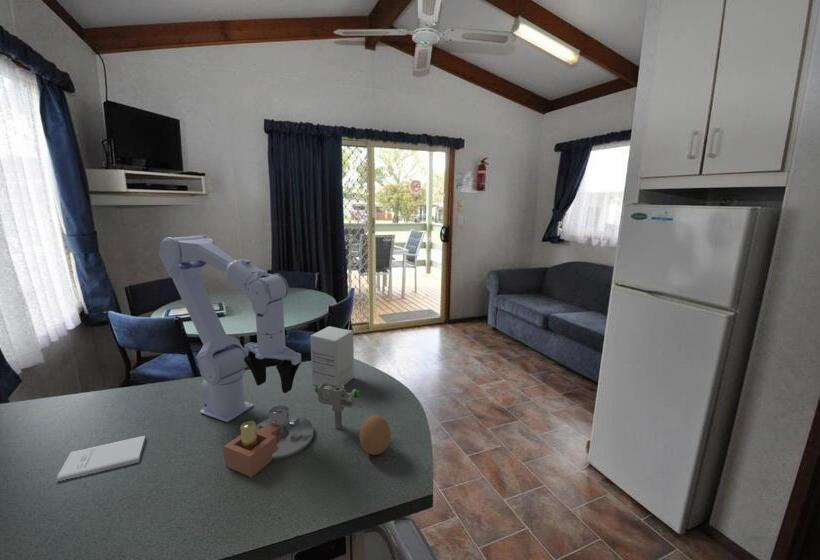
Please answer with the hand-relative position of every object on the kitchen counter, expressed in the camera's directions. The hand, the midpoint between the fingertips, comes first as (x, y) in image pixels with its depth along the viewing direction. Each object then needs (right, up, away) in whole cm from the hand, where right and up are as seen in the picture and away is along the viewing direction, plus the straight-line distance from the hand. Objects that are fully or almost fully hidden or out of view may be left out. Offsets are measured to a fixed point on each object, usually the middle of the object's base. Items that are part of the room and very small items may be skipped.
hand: (274, 387), depth 84 cm
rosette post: (+2, -11, -2) cm, 11 cm away
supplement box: (+8, -5, +24) cm, 26 cm away
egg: (+23, -12, -6) cm, 27 cm away
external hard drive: (-30, -12, -10) cm, 34 cm away
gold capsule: (-1, -11, -10) cm, 15 cm away
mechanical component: (+14, -10, +3) cm, 18 cm away
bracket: (0, -12, -8) cm, 14 cm away
